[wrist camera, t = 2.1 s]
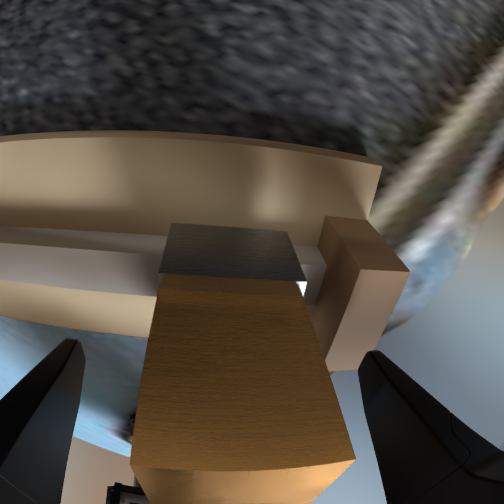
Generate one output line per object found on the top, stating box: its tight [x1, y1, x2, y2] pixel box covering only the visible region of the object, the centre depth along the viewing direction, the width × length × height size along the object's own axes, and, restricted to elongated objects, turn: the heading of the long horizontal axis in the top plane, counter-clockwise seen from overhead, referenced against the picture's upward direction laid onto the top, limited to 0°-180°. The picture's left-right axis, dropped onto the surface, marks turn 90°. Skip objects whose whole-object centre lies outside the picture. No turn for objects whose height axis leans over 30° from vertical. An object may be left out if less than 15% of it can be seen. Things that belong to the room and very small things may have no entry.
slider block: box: [130, 223, 356, 504], centre depth 9 cm, size 5×4×8 cm
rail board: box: [0, 130, 410, 371], centre depth 12 cm, size 10×24×6 cm, turn 82°
